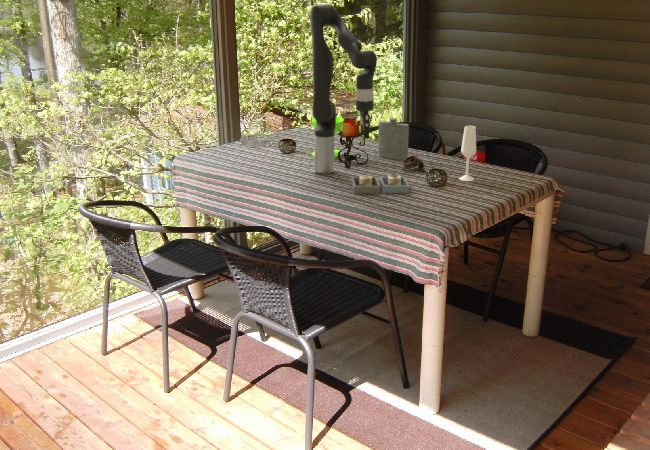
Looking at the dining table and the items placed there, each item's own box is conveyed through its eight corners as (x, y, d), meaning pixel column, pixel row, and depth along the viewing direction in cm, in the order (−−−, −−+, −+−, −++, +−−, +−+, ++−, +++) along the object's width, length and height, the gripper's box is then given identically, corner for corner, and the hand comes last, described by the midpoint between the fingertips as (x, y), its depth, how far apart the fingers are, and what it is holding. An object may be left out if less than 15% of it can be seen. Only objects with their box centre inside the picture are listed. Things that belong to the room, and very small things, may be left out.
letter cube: (389, 189, 315) (389, 178, 314) (387, 186, 320) (388, 174, 318) (400, 189, 316) (401, 178, 314) (399, 186, 320) (399, 174, 318)
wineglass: (343, 158, 366) (343, 123, 359) (311, 158, 366) (311, 123, 360) (343, 150, 381) (343, 116, 374) (312, 150, 381) (312, 116, 375)
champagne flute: (464, 175, 337) (468, 124, 329) (477, 178, 333) (480, 126, 324) (456, 178, 333) (459, 126, 324) (468, 181, 328) (472, 129, 320)
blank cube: (360, 190, 315) (360, 179, 313) (359, 186, 320) (359, 175, 318) (371, 190, 315) (372, 178, 313) (370, 186, 320) (370, 175, 318)
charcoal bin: (354, 194, 311) (354, 186, 310) (351, 185, 324) (351, 177, 323) (379, 194, 311) (380, 186, 310) (376, 184, 324) (376, 176, 323)
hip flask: (408, 158, 365) (410, 119, 358) (405, 160, 362) (406, 120, 355) (379, 154, 372) (380, 116, 365) (376, 156, 369) (377, 117, 362)
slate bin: (383, 194, 311) (383, 186, 310) (379, 184, 324) (379, 176, 323) (409, 194, 312) (409, 186, 310) (404, 184, 325) (404, 176, 324)
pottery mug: (426, 174, 342) (419, 160, 338) (408, 181, 345) (400, 168, 340) (425, 161, 351) (418, 147, 347) (407, 168, 354) (400, 155, 350)
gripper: (354, 96, 318) (354, 133, 323) (358, 102, 305) (358, 140, 310) (371, 95, 318) (371, 132, 324) (375, 101, 305) (375, 139, 311)
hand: (365, 136), depth 317 cm, fingers open, 8 cm apart
